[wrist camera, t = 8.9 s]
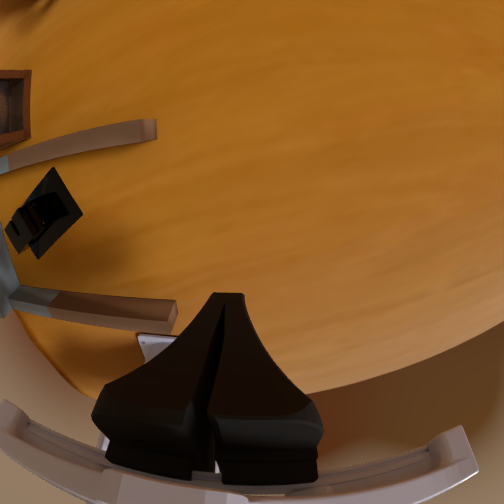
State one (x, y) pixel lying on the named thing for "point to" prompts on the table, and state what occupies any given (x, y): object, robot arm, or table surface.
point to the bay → (71, 303)
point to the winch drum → (14, 106)
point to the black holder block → (43, 216)
